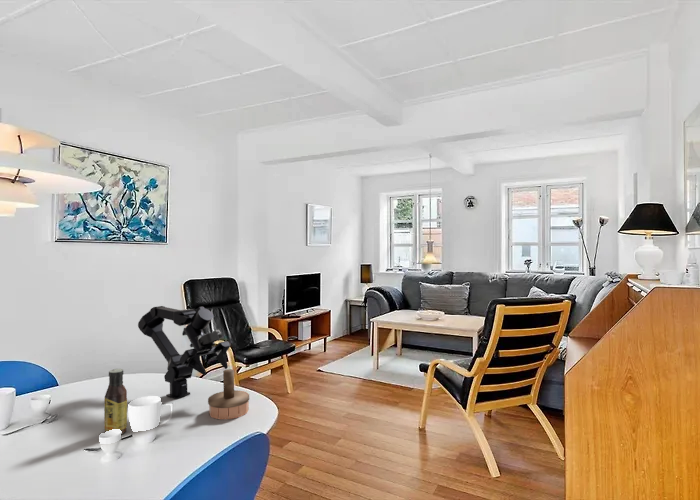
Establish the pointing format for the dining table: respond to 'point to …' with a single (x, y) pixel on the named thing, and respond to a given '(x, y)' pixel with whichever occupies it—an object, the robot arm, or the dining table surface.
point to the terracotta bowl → (229, 411)
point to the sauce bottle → (115, 402)
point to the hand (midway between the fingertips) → (216, 371)
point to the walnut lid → (228, 393)
